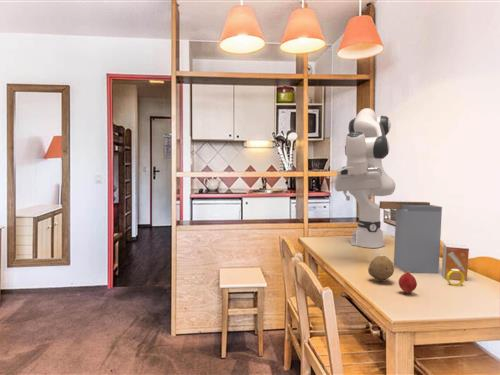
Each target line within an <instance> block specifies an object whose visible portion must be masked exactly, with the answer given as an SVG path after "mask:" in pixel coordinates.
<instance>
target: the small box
mask: <svg viewBox="0 0 500 375" xmlns="http://www.w3.org/2000/svg"><path fill="white" fill-rule="evenodd" d="M469 254H470V248H469V247H467V246H466V245H462V244H453V243H452V244H449V243H443V244H442V261H441V262H442V263H441V264H442V265H441V276H443V278H444V279H446V280H447V278H446V277H447V274H448V272H449V271H451V269H459V270H460V272H461V273H463V275H464V280H465V281H466V282H467V281H468V272H469V271H468V269H469V256H470V255H469ZM461 279H462V276H461V274H460V273H459V272H453V273H451V274H450V276H449V280H458V281H461Z"/></svg>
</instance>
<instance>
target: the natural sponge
mask: <svg viewBox="0 0 500 375" xmlns="http://www.w3.org/2000/svg"><path fill="white" fill-rule="evenodd" d="M367 270H368V275H369V276H371V277H373V278H374V279H375V280H376V281H378V282H384V281H386V280H388V279H389V278H391V277H392V276H393V275H394V272H395V266H394V262H393V261H391V259H390V257H389V258H388V257H387V256H385V255H378V256H375V257H373V259H372V260H371V262H370V263H369V266H368V268H367Z"/></svg>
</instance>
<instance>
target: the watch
mask: <svg viewBox="0 0 500 375" xmlns="http://www.w3.org/2000/svg"><path fill="white" fill-rule="evenodd" d="M453 272H459V273H460V274H461V276H462V279H461V280H459V282H458V283H453V282H452V283H451V281H450V279H449V276H450V274H451V273H453ZM446 278H447V279H446V281H447V283H448V284H449V285H451V286H459V285H460V286H461V285H463V283H464V275H463V273H461V272H460V270H459V269H451V271H449V272H448V274H447V277H446Z"/></svg>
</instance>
